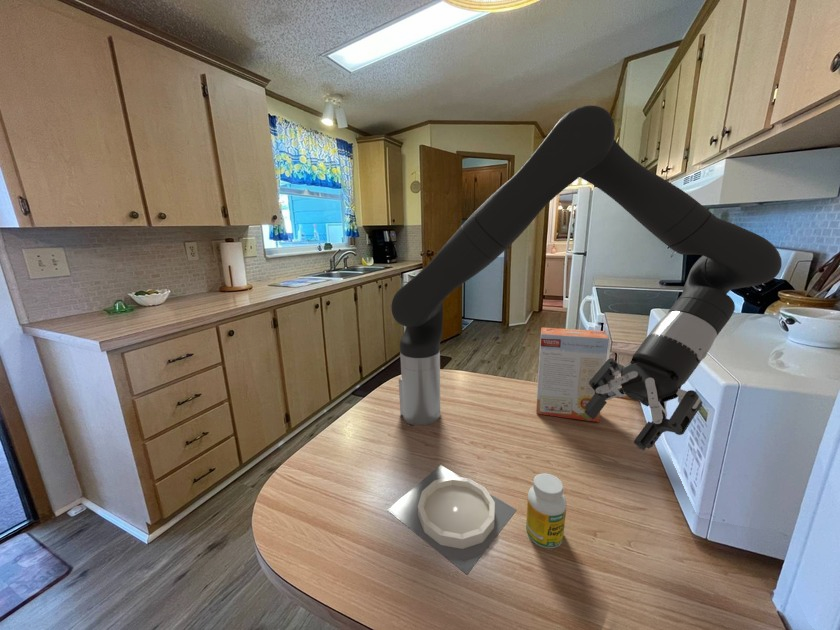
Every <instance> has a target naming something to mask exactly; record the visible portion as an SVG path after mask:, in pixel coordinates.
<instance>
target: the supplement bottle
mask: <svg viewBox="0 0 840 630" xmlns="http://www.w3.org/2000/svg"><path fill="white" fill-rule="evenodd" d="M566 513H567V498H566V496H565V495H564V484H563V482H562V481H561V480H560V479H559V478H558V477H557V476H555V475H553V474H550V473H538V474H537V475H535V476H534V478H533V483H532V486H531V487H530V488H529V490H528V493H527V502H526V520H525V521H526V523H525V531H526V534H527V536H528V538H529V539H530V540H531V541H532V542H533V543H535V545H538V546H540V547H542V548H546V549H554V548H557V547H559V546H561V544H562V542H563V540H564V533H565V522H566V515H567V514H566Z"/></svg>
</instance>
